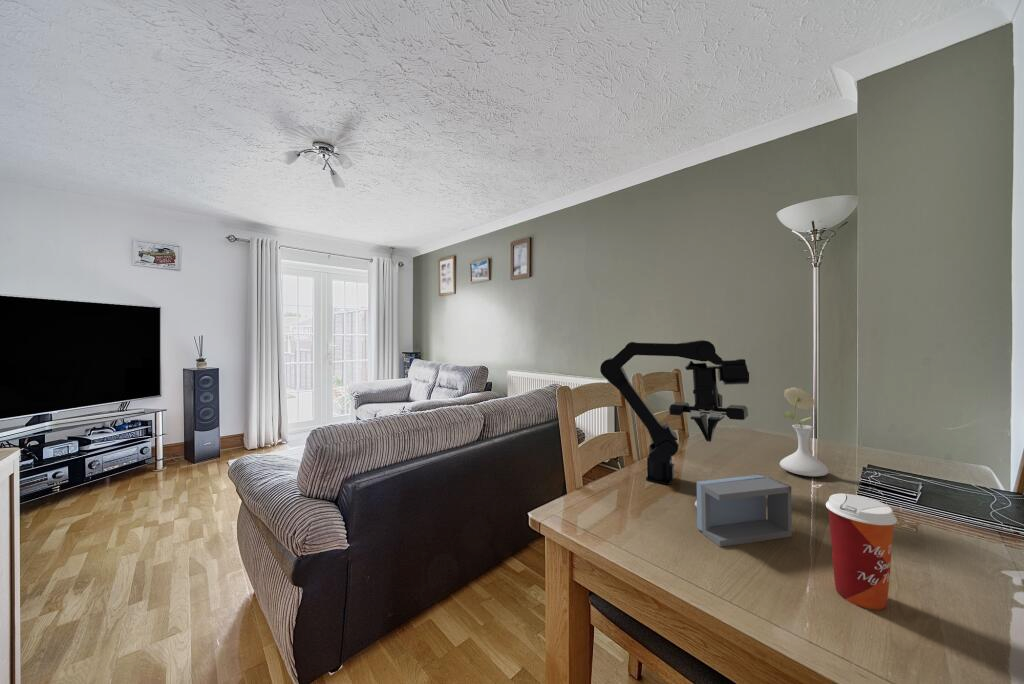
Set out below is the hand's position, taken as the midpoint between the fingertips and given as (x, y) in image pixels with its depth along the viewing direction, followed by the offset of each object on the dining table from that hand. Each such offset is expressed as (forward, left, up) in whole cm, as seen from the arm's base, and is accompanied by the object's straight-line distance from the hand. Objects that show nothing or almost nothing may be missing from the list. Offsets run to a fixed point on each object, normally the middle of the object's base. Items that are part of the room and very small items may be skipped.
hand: (709, 441), depth 103 cm
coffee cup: (+25, -36, -12) cm, 46 cm away
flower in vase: (+21, +24, -12) cm, 34 cm away
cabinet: (+9, -25, -12) cm, 29 cm away
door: (+7, -22, -12) cm, 26 cm away
